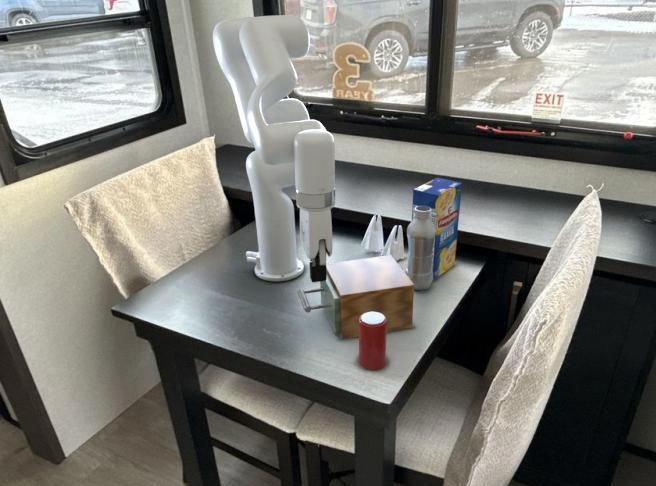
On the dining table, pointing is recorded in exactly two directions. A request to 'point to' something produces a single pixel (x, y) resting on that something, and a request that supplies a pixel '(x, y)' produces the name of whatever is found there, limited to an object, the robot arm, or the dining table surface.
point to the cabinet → (372, 292)
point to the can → (372, 340)
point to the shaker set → (375, 240)
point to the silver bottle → (420, 248)
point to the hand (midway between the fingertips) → (318, 279)
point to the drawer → (325, 303)
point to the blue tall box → (441, 219)
